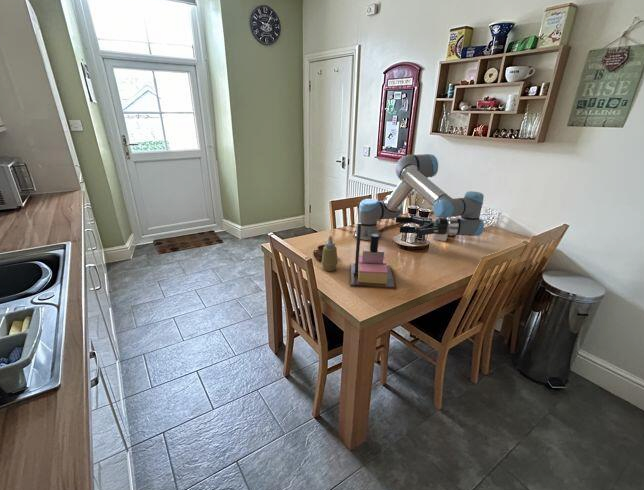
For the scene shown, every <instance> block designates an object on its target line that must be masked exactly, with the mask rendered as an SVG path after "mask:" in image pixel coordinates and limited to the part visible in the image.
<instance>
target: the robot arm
mask: <svg viewBox="0 0 644 490" xmlns="http://www.w3.org/2000/svg"><path fill="white" fill-rule="evenodd" d="M438 171H439V161H438V158H437V157H436V156H435V155H434V154H431V153H422V154H421V153H419V154H407V155H404V156H402V157H400V158H399V159H398V161H397V162H396V166H395V174H396V176H397V178H398V179H399V180H400V181H399V183H398V184H397V186H396V187H395V188H394V189H393V191H392V192H391V194H388V195H386V196H385V197H384V198H383V200H378V199H377V198H365V199H362V200H361V201H360V202H359V207H358V222H357V224H358V223H361V235H360V241H371V235H372V234H378V235H379V236H380V233H379V232H381V231H383V230H384V229H387V228H391V227H395V226H399V225H401V226H399V233H400V234H415V235H417V236H419V237H420V236H427V235H433V234H434V235H435V234H440V235H444V234H446V235H448V236H450V237H452V236H466V237H479V236H482V234H483V232H484V229H485V228H484V227H485V223H484V220H482V219H481V218H480V217H481V212H482V209H483V204H484V198H485V196H484V193H482V192H479V191H474V190H469V191H467V192H465V194H464V195H463V196H464V197H457V198H452V197H451V196H450V195H449V194H447V193H446V192H445V191H444V190H442V189H441V188H440V187H439V186H438V185H436V184H435V183H434V182H433V181H431V179H429V178H433V177H435V176H437V174H438ZM413 191H415V192H416V193H418V194H419V195H420V196H421V197H422V198H423V199H424V200H425V201H427V203H429V204H430V205H431V206H432V211H430V212H429V213H430V214H432V213H434V216H435V217H436V220H435V221H434V220H433V218H427V217H421V216H416V215H410V216H400V215H401V214H402V210H403V205H402V204H403V203H404V202H405V200H406V199H407V198H408V197H409V196H410V194H412V192H413ZM438 217H439V218H438ZM448 217H451V218H448ZM456 217H457V218H456ZM458 217H460V218H458ZM446 218H447V219H446ZM389 219H391V220H393V219H395V223H394V224H391V225H387V226H384V227H382V228H381V229H378V221H380V220H389ZM402 224H409V225H410V224H415V225H418V226H405V225H404V226H402ZM357 228H358V225H357V226H356V229H355V230H354V237H355V238H356V239H357Z"/></svg>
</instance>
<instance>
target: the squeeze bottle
mask: <svg viewBox="0 0 644 490" xmlns="http://www.w3.org/2000/svg"><path fill="white" fill-rule="evenodd" d="M324 245H325V246H324V248H323V255H322V260H321V265H322V267H323V270H324V271H326V272H334V271H335V270H336V268H337V265H338V251H337V249H338V248H337V246H336V242H334V241H333V236H332V235H329V236H328V239H327V241H325V244H324Z"/></svg>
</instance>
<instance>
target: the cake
mask: <svg viewBox="0 0 644 490" xmlns="http://www.w3.org/2000/svg"><path fill="white" fill-rule="evenodd" d="M362 257H363V254H362V255H361V254H359V263H358V281H359V282H363V283H381V284H387V277H388V270H387V266H386V265H387V261H386V258H385V257H386V256H384V260H383V265H382V264H362Z"/></svg>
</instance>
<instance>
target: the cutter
mask: <svg viewBox="0 0 644 490" xmlns="http://www.w3.org/2000/svg"><path fill="white" fill-rule="evenodd" d="M379 240H380V234H379V235H378V234H372V235H371V240H370V244H369V250H362V256H363V257H362V264H382V265H383V260H384V257H385V251H383V250H379Z"/></svg>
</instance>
